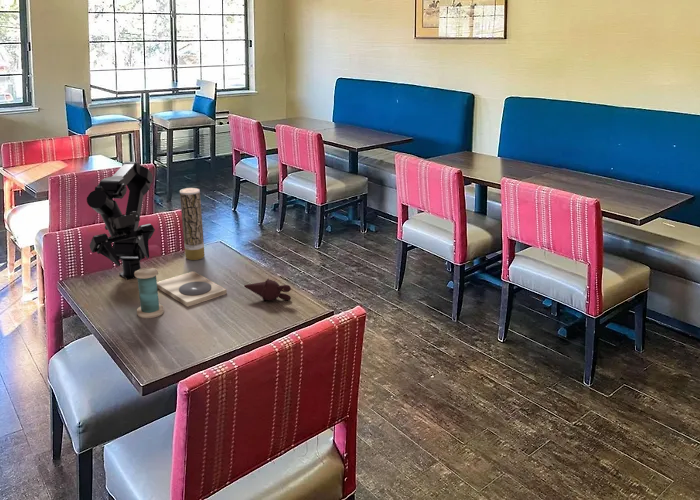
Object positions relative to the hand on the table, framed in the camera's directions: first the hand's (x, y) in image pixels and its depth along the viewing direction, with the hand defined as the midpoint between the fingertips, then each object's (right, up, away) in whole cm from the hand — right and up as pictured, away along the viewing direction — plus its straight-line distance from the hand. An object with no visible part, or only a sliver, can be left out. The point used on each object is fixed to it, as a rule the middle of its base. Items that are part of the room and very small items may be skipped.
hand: (134, 261), depth 192 cm
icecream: (+39, -12, +9) cm, 42 cm away
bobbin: (+5, -15, -1) cm, 16 cm away
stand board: (+13, -9, +14) cm, 22 cm away
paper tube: (+8, +1, +41) cm, 42 cm away
